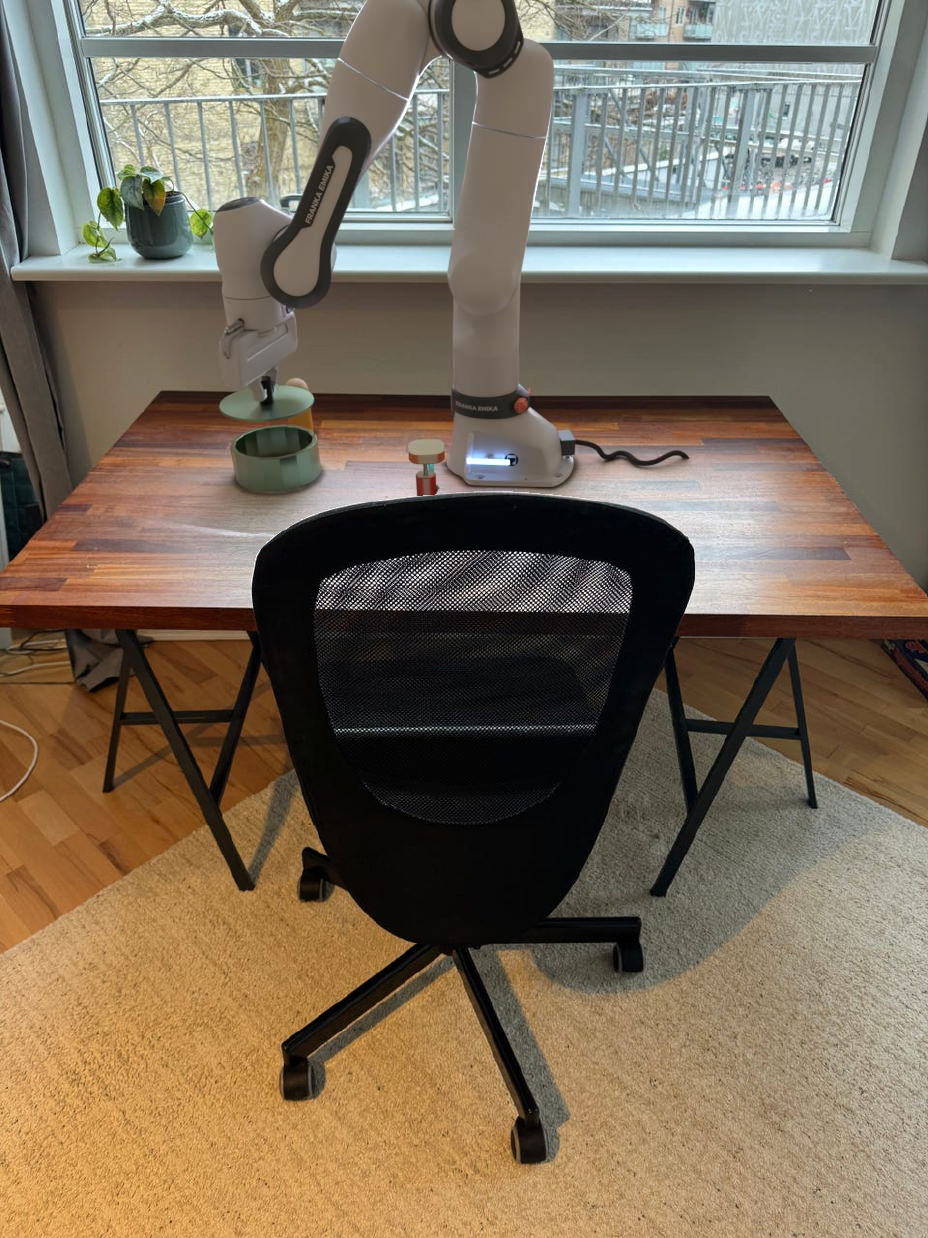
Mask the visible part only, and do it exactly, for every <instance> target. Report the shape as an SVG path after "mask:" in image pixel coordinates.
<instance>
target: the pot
mask: <svg viewBox="0 0 928 1238" xmlns="http://www.w3.org/2000/svg"><path fill="white" fill-rule="evenodd" d="M318 440H319V439H318V435H317V434H315V432H312V431H311V430H309V429H306V428H303V427H300V426H292V425H288V424H275V425H266V426H261V427H255V428H251V429H250V430H247V431H245V432H242V433H240V434H238V435H237V436H236V437H234V439H233V440H232V439H231V442H230V445H229V450H230V455H231V460H232V467H233V471H234V477H235V480H236V482H237V483H238V485H239V486H240V487H242V488H245V489H248V490H250V491H252V492H262V493H277V492H286V491H290V490H291V491H292V490H295V489H300V488H303V487H306V486H308V485H309V484H311V483H313V482H315V481H316V480H317V479H318V478H319V477H320V475H321V469H322V465H321V457H320V450H319V449H320V448H319V442H318Z"/></svg>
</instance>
